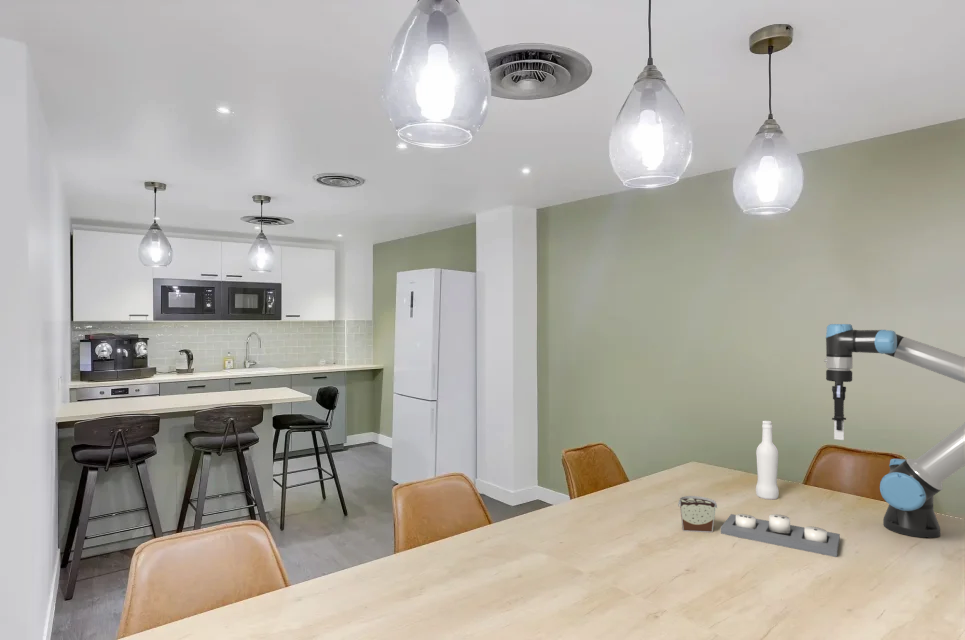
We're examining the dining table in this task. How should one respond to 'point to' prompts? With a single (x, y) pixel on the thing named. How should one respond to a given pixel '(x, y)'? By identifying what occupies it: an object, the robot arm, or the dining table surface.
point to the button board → (782, 537)
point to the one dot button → (815, 534)
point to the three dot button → (746, 521)
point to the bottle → (767, 464)
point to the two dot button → (779, 523)
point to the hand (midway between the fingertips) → (839, 439)
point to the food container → (697, 513)
